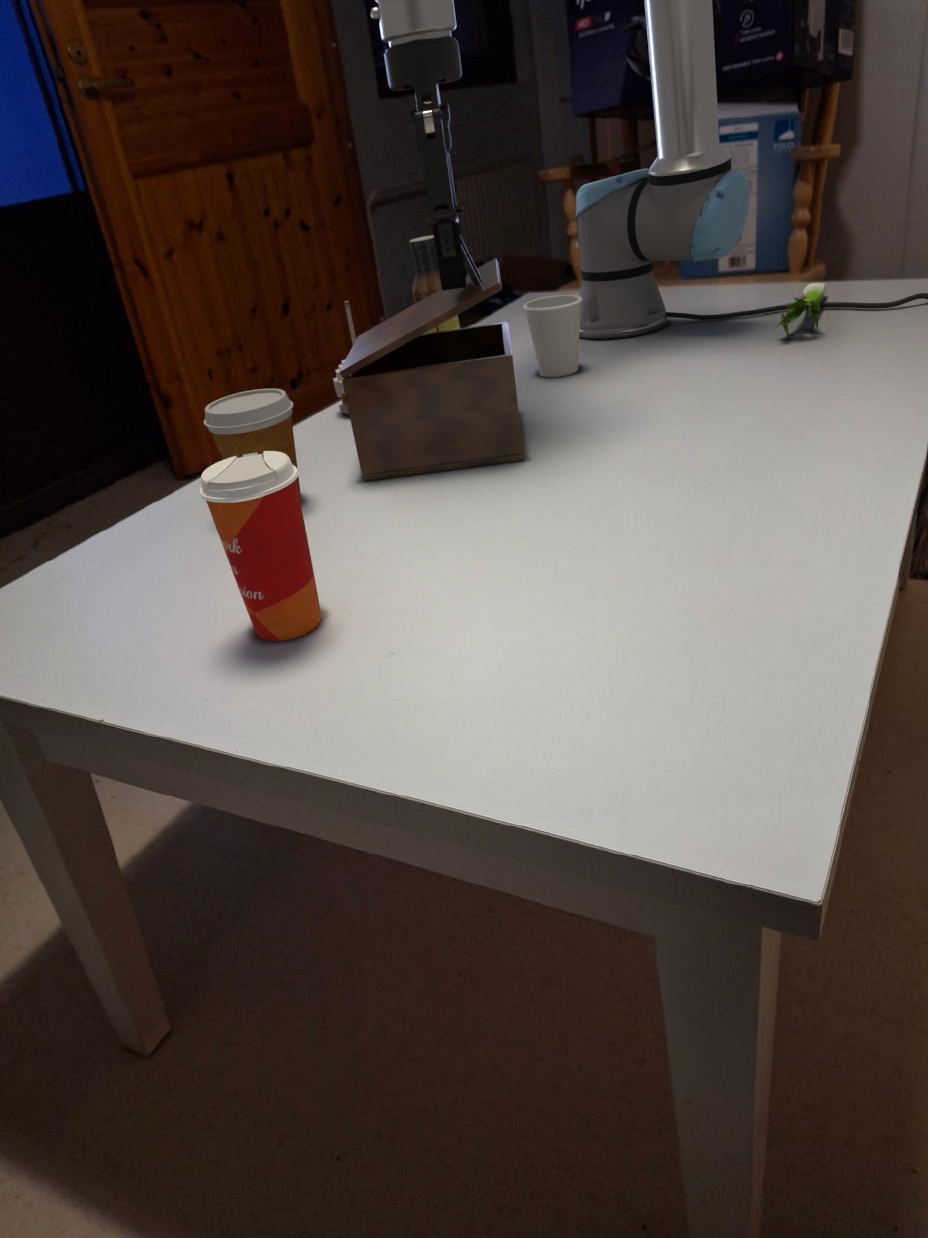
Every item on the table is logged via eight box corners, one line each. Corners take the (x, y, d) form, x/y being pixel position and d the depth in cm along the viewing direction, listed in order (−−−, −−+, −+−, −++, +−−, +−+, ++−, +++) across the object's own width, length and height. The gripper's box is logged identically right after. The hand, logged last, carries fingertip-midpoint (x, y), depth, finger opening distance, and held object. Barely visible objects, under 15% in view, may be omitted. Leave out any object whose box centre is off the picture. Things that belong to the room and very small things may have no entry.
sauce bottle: (468, 364, 143) (449, 230, 134) (465, 374, 138) (445, 236, 128) (428, 369, 144) (407, 237, 135) (423, 379, 139) (400, 243, 129)
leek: (837, 306, 149) (824, 337, 125) (792, 314, 152) (771, 346, 128) (834, 267, 147) (820, 292, 122) (789, 276, 150) (767, 302, 125)
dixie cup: (594, 362, 133) (589, 292, 128) (577, 378, 127) (571, 306, 122) (541, 364, 137) (534, 296, 132) (522, 380, 130) (514, 309, 126)
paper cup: (249, 609, 79) (203, 457, 72) (335, 595, 79) (298, 442, 72) (236, 655, 72) (185, 493, 65) (331, 640, 72) (290, 475, 65)
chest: (518, 414, 117) (507, 321, 111) (524, 460, 101) (512, 355, 96) (378, 433, 118) (360, 342, 112) (363, 481, 103) (341, 379, 97)
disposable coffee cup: (330, 489, 102) (306, 384, 96) (290, 524, 95) (261, 413, 89) (258, 489, 106) (231, 389, 100) (214, 523, 98) (182, 417, 92)
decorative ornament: (389, 397, 133) (370, 291, 126) (398, 410, 126) (378, 299, 119) (338, 407, 132) (315, 302, 125) (344, 421, 125) (321, 311, 118)
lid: (498, 263, 108) (466, 196, 104) (502, 289, 92) (464, 211, 89) (361, 341, 112) (325, 280, 109) (342, 378, 97) (300, 308, 94)
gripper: (390, 51, 98) (426, 274, 109) (373, 40, 81) (417, 304, 92) (458, 39, 97) (487, 264, 108) (455, 26, 81) (489, 293, 92)
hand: (455, 282), depth 100 cm, fingers closed on lid, 6 cm apart
